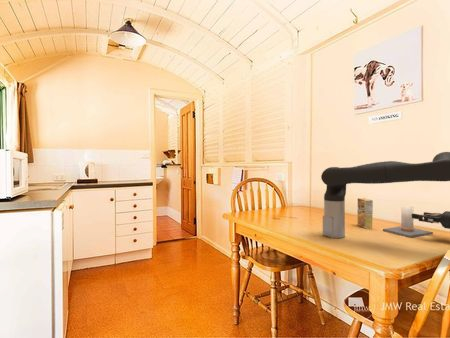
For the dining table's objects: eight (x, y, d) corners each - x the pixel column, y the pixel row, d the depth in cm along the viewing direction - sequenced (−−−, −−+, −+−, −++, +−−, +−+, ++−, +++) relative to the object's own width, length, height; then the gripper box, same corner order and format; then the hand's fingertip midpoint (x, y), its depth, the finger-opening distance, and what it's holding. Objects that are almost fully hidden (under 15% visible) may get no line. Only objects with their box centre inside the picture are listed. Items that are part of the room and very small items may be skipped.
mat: (410, 237, 123) (410, 235, 123) (382, 230, 136) (382, 228, 136) (432, 234, 129) (432, 232, 129) (404, 227, 142) (404, 225, 142)
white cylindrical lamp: (409, 232, 129) (409, 207, 129) (398, 229, 134) (398, 206, 134) (416, 231, 131) (416, 207, 131) (405, 228, 136) (405, 205, 135)
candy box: (356, 225, 149) (356, 198, 149) (364, 225, 149) (364, 197, 149) (365, 228, 141) (365, 200, 140) (373, 228, 141) (373, 200, 140)
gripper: (467, 211, 115) (427, 206, 130) (447, 214, 110) (407, 208, 125) (467, 228, 115) (427, 221, 130) (447, 232, 110) (408, 224, 125)
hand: (418, 215), depth 127 cm, fingers open, 8 cm apart
